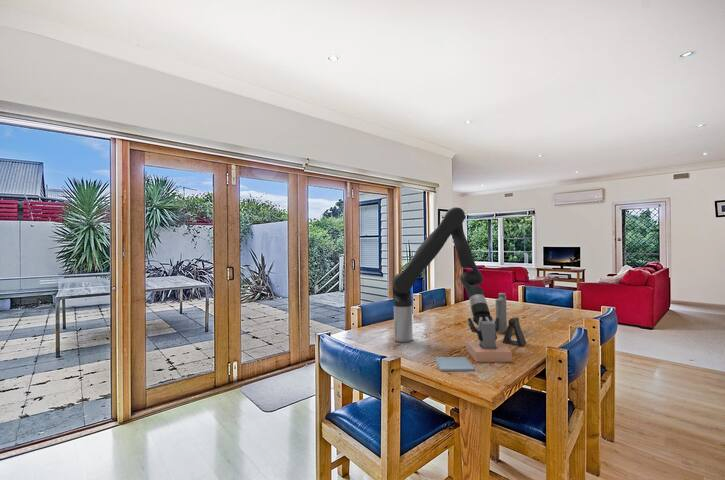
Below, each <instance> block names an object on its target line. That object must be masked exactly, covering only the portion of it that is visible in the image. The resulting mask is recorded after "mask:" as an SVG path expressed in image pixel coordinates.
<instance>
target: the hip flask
mask: <svg viewBox="0 0 725 480" xmlns="http://www.w3.org/2000/svg"><path fill="white" fill-rule="evenodd" d="M496 318H499V330H498V332H496V334H499V335H500V334H504V333H506V331H507V328H508V323H507V319H508V318H507V294H506V293H505V292H504V293H503V292H499V293H498V298H496V299H495V319H496Z"/></svg>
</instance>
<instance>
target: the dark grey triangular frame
mask: <svg viewBox="0 0 725 480" xmlns="http://www.w3.org/2000/svg"><path fill="white" fill-rule="evenodd" d="M513 333H514V335H515V338H516V340H514V339H512V335H513ZM502 344H508V345H512V346H519V347H524V345H526V344H527V341H526V338H525V335H524V333H523V330H522V328H521V325H520V318H519V317H518V316H516V317H515V316H513V317H511V318H510V319H509V320H508V325H507V329H506V331H505V334H504V337H503V340H502Z"/></svg>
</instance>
